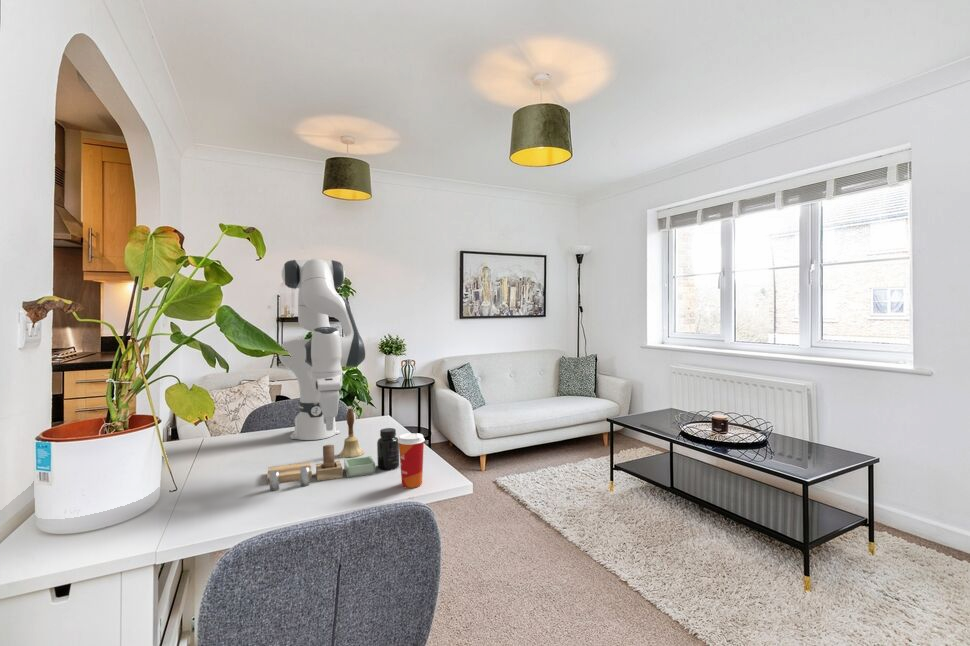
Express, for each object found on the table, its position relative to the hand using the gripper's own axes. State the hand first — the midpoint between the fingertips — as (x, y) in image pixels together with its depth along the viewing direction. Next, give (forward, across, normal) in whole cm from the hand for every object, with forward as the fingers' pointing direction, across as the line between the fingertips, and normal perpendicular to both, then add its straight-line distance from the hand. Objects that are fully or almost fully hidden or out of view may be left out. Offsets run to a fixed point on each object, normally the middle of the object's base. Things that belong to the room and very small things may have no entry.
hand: (328, 426), depth 139 cm
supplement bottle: (+15, 0, +18) cm, 24 cm away
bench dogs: (+15, +4, -11) cm, 19 cm away
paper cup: (+15, +18, +21) cm, 31 cm away
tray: (+15, 0, +9) cm, 18 cm away
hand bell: (+15, -20, +9) cm, 26 cm away
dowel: (+15, 0, 0) cm, 15 cm away
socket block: (+15, 0, 0) cm, 15 cm away
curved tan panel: (+15, -6, -11) cm, 20 cm away
